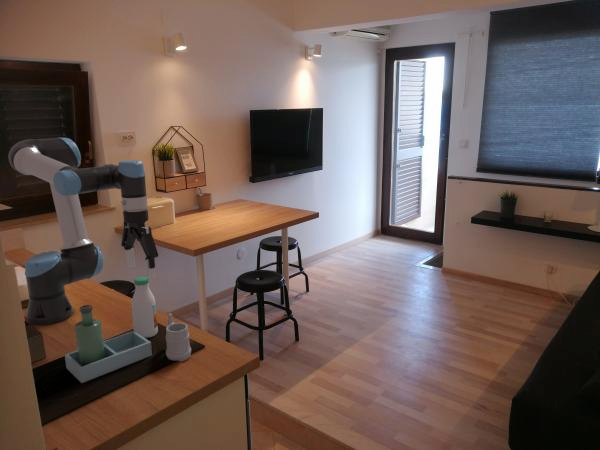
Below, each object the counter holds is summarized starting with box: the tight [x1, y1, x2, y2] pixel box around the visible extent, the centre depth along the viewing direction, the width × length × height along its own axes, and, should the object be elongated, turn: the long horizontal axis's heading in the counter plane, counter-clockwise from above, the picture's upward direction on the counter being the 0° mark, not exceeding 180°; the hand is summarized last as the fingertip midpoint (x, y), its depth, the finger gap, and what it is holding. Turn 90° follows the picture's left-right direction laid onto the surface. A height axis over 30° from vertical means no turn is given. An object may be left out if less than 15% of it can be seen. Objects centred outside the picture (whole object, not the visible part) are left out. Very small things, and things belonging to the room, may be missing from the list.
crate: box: [64, 330, 153, 384], centre depth 144 cm, size 11×21×5 cm, turn 135°
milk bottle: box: [131, 276, 159, 339], centre depth 160 cm, size 8×8×20 cm
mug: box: [165, 313, 192, 362], centre depth 148 cm, size 8×12×12 cm, turn 34°
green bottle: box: [74, 304, 105, 367], centre depth 138 cm, size 7×7×19 cm
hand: (141, 272), depth 157 cm, fingers open, 13 cm apart
